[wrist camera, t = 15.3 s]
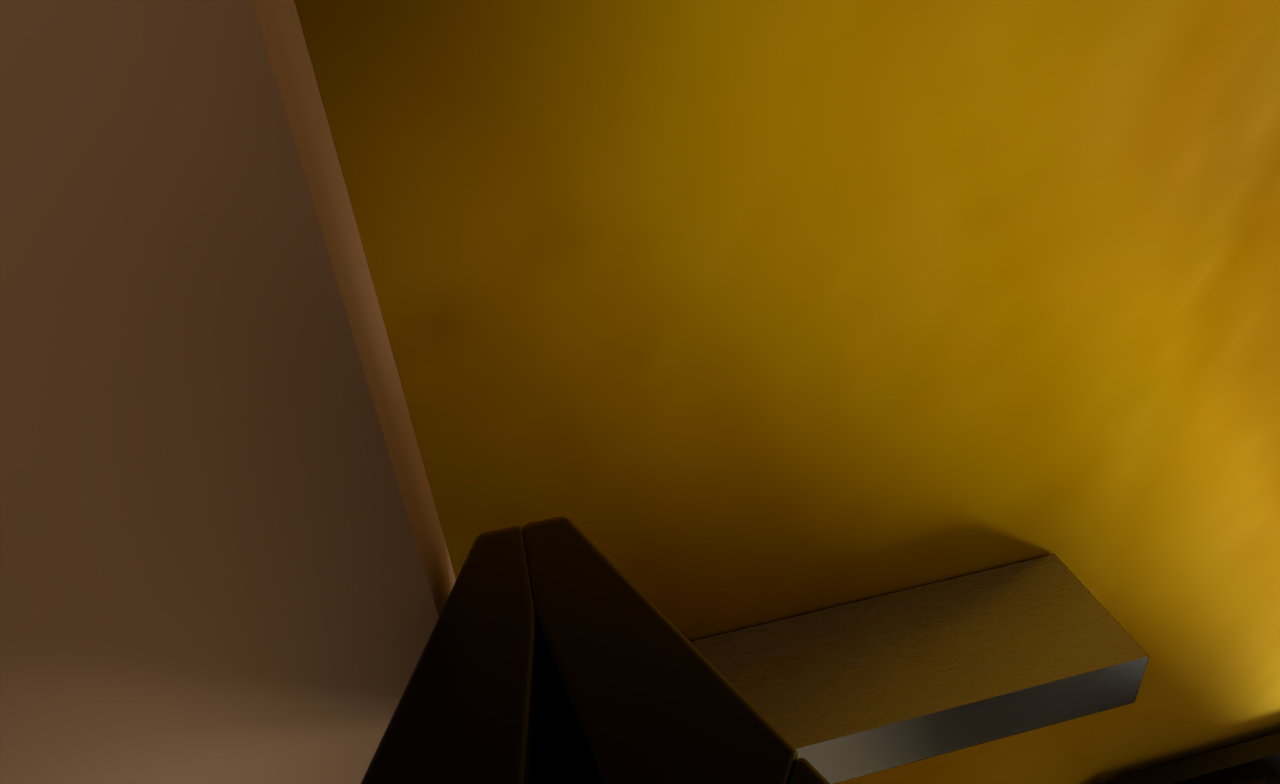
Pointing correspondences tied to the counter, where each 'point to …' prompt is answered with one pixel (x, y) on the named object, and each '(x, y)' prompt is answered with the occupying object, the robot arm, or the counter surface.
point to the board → (194, 412)
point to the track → (933, 667)
